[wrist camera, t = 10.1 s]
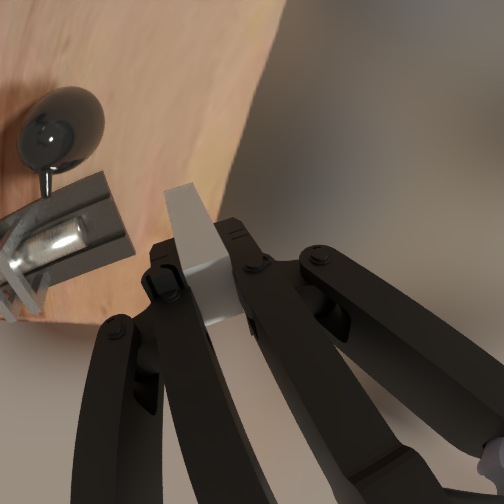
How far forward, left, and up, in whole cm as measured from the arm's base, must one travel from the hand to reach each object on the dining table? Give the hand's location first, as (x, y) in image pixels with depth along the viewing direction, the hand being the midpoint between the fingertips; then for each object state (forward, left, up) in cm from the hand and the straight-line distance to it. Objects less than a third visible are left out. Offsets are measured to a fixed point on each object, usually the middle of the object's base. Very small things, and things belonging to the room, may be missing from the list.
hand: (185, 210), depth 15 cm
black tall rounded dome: (-5, -11, -27) cm, 29 cm away
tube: (+10, -24, -25) cm, 36 cm away
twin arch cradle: (+10, -22, -26) cm, 36 cm away
